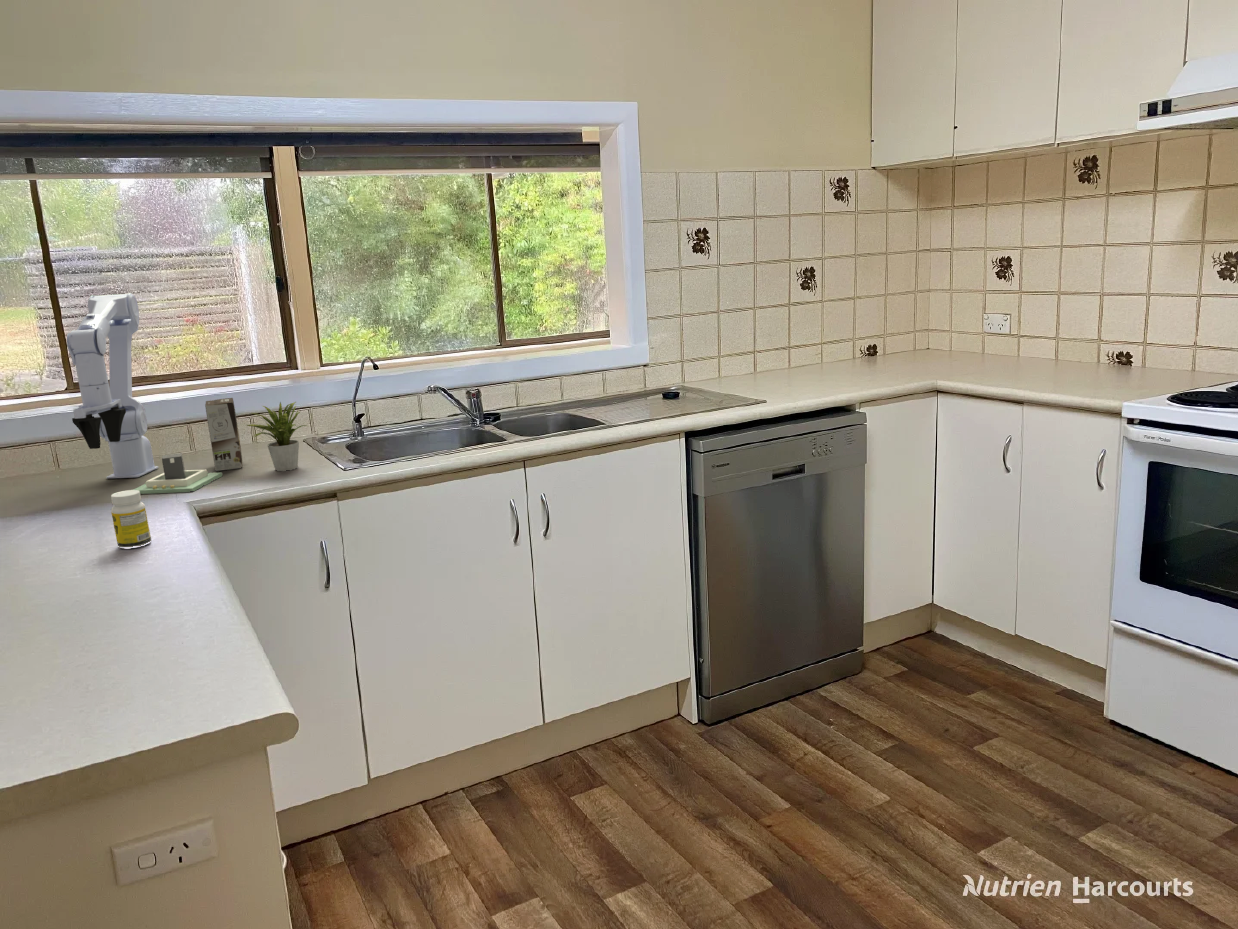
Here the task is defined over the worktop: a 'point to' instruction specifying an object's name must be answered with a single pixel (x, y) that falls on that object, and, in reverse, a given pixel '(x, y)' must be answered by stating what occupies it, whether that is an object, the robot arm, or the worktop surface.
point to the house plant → (281, 438)
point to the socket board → (178, 482)
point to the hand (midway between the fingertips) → (105, 444)
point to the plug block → (173, 466)
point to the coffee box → (224, 434)
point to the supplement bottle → (130, 519)
